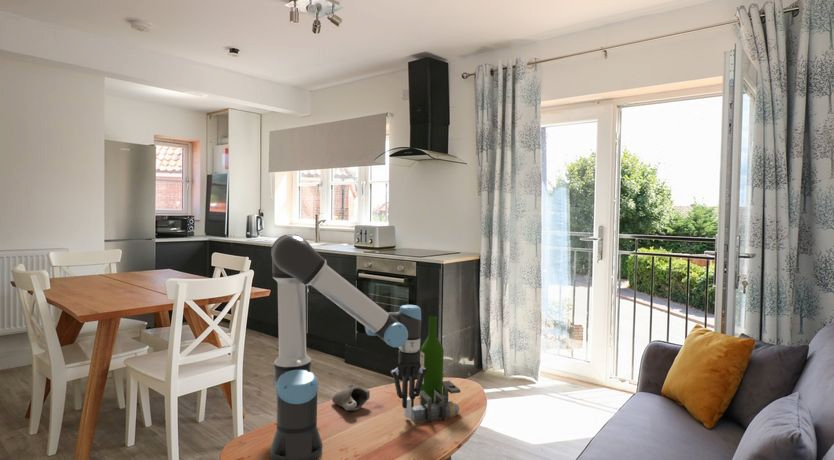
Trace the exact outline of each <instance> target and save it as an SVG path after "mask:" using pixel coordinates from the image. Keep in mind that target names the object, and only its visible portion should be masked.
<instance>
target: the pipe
mask: <svg viewBox="0 0 834 460" xmlns="http://www.w3.org/2000/svg"><path fill="white" fill-rule="evenodd" d="M370 396H371V395H370V390H369V389H366V388H363V387H361V386H357V385H356V384H354V383H349V384H348V385H346V387H345V388H344V389H342V390H340V391H338V392H336V393H335V394H334V395H333V397H332V403H333V404H335V405H337V406H339V407H342V408H343V409H344V411H345V410H346V411H351V412H353V411H354V412H355V411H357V410H359V409H360V408H362V406H364V405H365V403H366V402H367V401H368V400H370Z"/></svg>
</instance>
